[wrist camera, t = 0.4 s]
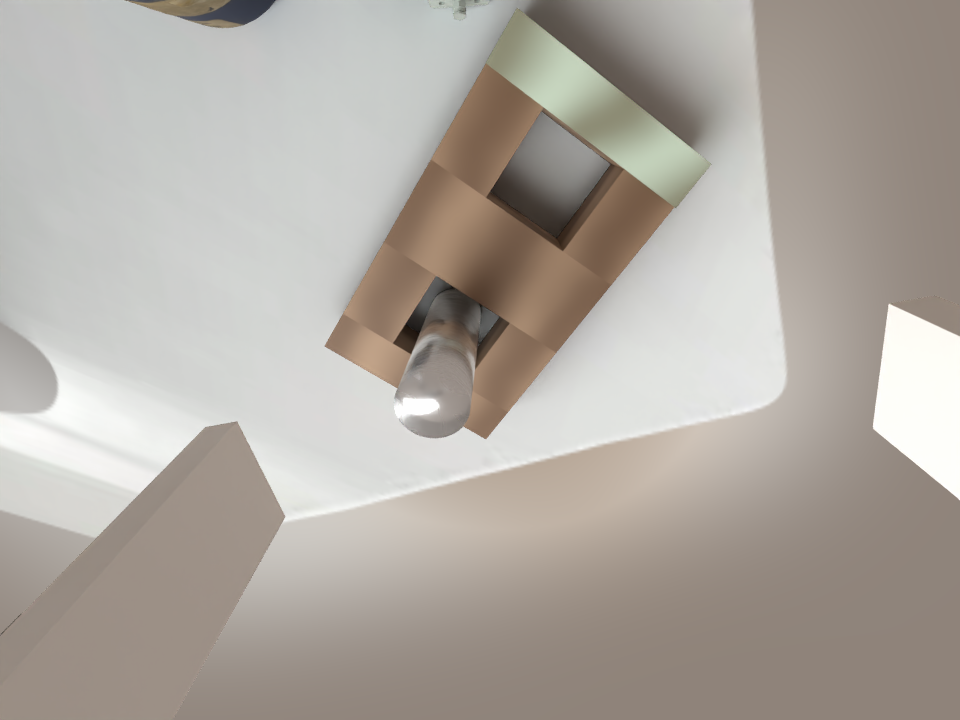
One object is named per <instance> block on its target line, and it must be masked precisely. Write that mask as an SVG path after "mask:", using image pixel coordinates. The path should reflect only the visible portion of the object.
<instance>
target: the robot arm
mask: <svg viewBox="0 0 960 720" xmlns="http://www.w3.org/2000/svg"><path fill="white" fill-rule="evenodd" d="M873 429H874V430H876V431H877V432H878V433H879V434H880V435H882V436H883V437H884V438H885V439H887V440H888V441H889V442H890V443H891V444H893V445H894V446H895V447H896V448H898V449H899V450H900V451H901V452H902V453H904V454H905V455H906V456H907V457H909V458H910V459H911V460H912V461H913V462H915V463H916V464H917V465H918V466H919V467H921V468H922V469H923V470H924V471H926V472H927V473H928V474H929V475H930V476H932V477H933V478H934V479H935V480H936V481H938V482H939V483H940V484H941V485H943V486H944V487H945V488H946V489H948V490H949V491H950V492H951V493H952V494H954V495H955V496H956V497H957V498H958V499H960V305H958V304H955V303H953V302H950V301H947V300H945V299H942V298H940V297H937V296H929V297H924V298H918V299H913V300H907V301H901V302H896V303H890V304H889V307H888V315H887V323H886V330H885V338H884V346H883V354H882V361H881V369H880V377H879V385H878V393H877V399H876V407H875V415H874V423H873ZM284 518H285V515H284V513H283V511H282V509H281V507H280V505H279V503H278V501H277V499H276V497H275V495H274V493H273V491H272V489H271V487H270V485H269V484H268V482H267V480H266V478H265V476H264V474H263V472H262V470H261V468H260V466H259V464H258V462H257V460H256V458H255V456H254V454H253V452H252V450H251V448H250V446H249V444H248V442H247V440H246V438H245V436H244V434H243V432H242V430H241V428H240V426H239V424H238V422H231V423H226V424H220V425H215V426H209V427H205V428H204V429H203V430H202V431H201V432H200V433H199V434H198V435H197V436H196V437H195V438H194V439H193V440H192V441H191V442H190V443H189V444H188V445H187V446H186V447H185V448H184V449H183V450H182V452H181V453H180V454H179V455H178V456H177V457H176V458H175V459H174V460H173V461H172V462H171V463H170V464H169V465H168V466H167V467H166V468H165V469H164V470H163V471H162V472H161V473H160V474H159V475H158V476H157V477H156V478H155V479H154V480H153V481H152V482H151V483H150V484H149V485H148V486H147V487H146V488H145V489H144V490H143V491H142V492H141V493H140V494H139V495H138V496H137V497H136V498H135V499H134V500H133V501H132V502H131V503H130V504H129V505H128V506H127V507H126V508H125V509H124V510H123V511H122V512H121V514H120V515H119V516H118V517H117V518H116V519H115V520H114V521H113V522H112V523H111V524H110V525H109V526H108V527H107V528H106V529H105V530H104V531H103V532H102V533H101V534H100V535H99V536H98V537H97V538H96V539H95V540H94V541H93V542H92V543H91V544H90V545H89V546H88V547H87V548H86V549H85V550H84V551H83V552H82V553H81V554H80V555H79V556H78V557H77V558H76V559H75V560H74V561H73V562H72V563H71V564H70V565H69V566H68V567H67V568H66V570H65V571H64V572H62V574H61V575H60V576H59V577H58V578H57V579H56V580H55V581H54V582H53V583H52V584H51V585H50V586H49V587H48V588H47V589H46V590H45V591H44V592H43V593H42V594H41V595H40V596H39V597H38V598H37V599H36V600H35V601H34V602H33V603H32V604H31V605H30V606H29V607H28V608H27V609H26V610H25V611H24V612H23V613H22V614H21V615H19V616H18V618H17V619H16V620H14V621H13V623H12V624H11V625H10V626H9V627H8V628H7V629H6V630H5V631H4V632H3V633H2V634H1V635H0V720H173V718H174V716H175V715H176V713H177V711H178V709H179V707H180V706H181V704H182V702H183V700H184V698H185V697H186V695H187V693H188V691H189V689H190V688H191V686H192V684H193V682H194V680H195V679H196V677H197V675H198V673H199V671H200V670H201V668H202V666H203V664H204V662H205V661H206V659H207V657H208V655H209V653H210V652H211V650H212V648H213V646H214V644H215V642H216V641H217V639H218V637H219V635H220V634H221V632H222V630H223V628H224V626H225V625H226V623H227V621H228V619H229V617H230V616H231V614H232V612H233V610H234V608H235V606H236V605H237V603H238V601H239V599H240V597H241V596H242V594H243V592H244V590H245V588H246V587H247V584H248V583H249V581H250V579H251V578H252V576H253V574H254V572H255V570H256V568H257V567H258V565H259V563H260V562H261V559H262V558H263V556H264V554H265V552H266V550H267V549H268V547H269V545H270V543H271V542H272V540H273V538H274V536H275V534H276V533H277V531H278V529H279V527H280V525H281V524H282V522H283V520H284Z"/></svg>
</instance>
